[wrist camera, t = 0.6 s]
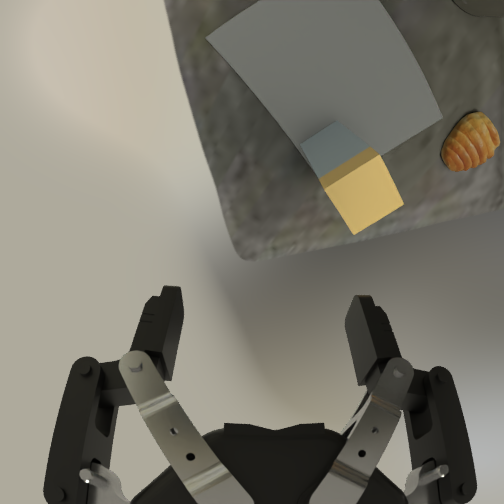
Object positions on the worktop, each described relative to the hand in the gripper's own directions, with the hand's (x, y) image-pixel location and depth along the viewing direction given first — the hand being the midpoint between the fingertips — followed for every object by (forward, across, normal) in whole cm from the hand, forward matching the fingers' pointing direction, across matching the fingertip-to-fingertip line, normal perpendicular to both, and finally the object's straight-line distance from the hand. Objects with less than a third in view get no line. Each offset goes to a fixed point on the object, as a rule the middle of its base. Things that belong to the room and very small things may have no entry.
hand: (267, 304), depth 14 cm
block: (+22, -8, -1) cm, 24 cm away
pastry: (+24, -27, -6) cm, 37 cm away
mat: (+23, -8, -10) cm, 26 cm away
